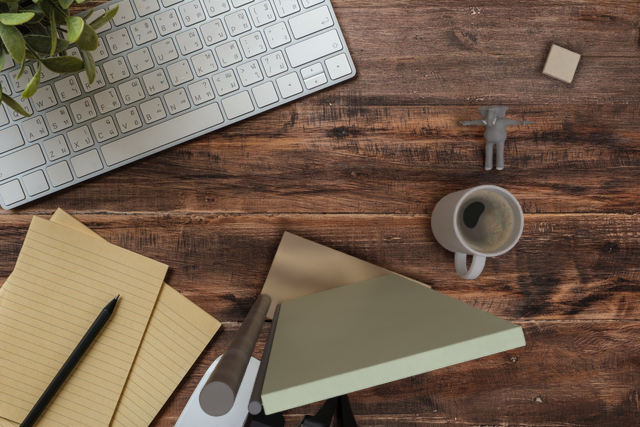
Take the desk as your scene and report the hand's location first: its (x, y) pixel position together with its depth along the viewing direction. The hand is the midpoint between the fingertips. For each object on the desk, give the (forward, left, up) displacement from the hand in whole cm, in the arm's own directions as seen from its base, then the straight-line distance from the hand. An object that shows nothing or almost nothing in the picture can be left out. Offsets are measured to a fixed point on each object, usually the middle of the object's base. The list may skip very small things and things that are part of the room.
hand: (339, 382), depth 58 cm
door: (+9, +3, -8) cm, 12 cm away
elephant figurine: (+38, -10, -9) cm, 40 cm away
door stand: (+9, +2, -9) cm, 13 cm away
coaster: (+52, -16, -9) cm, 55 cm away
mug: (+24, -10, -9) cm, 27 cm away
